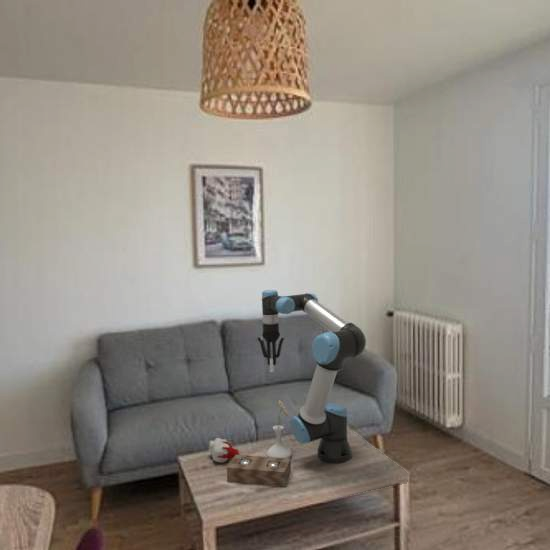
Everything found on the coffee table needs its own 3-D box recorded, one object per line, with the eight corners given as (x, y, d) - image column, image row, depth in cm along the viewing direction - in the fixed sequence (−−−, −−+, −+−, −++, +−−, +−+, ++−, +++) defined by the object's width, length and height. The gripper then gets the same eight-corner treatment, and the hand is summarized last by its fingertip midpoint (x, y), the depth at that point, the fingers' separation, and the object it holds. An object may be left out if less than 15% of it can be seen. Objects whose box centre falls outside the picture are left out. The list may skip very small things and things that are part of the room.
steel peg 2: (279, 474, 207) (279, 461, 207) (277, 479, 203) (276, 466, 203) (270, 473, 208) (269, 461, 208) (267, 478, 204) (267, 465, 204)
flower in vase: (287, 464, 218) (286, 408, 215) (263, 461, 221) (261, 406, 219) (296, 451, 230) (294, 398, 228) (272, 448, 233) (270, 396, 231)
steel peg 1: (251, 472, 210) (251, 459, 209) (248, 476, 206) (248, 464, 206) (242, 471, 211) (242, 458, 210) (239, 476, 207) (239, 463, 206)
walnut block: (291, 472, 210) (290, 458, 210) (284, 486, 198) (284, 472, 198) (236, 467, 216) (235, 454, 215) (227, 481, 204) (226, 467, 204)
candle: (208, 453, 230) (241, 457, 228) (202, 464, 219) (236, 469, 217) (210, 434, 229) (242, 438, 228) (204, 444, 218) (238, 449, 216)
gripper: (285, 321, 239) (287, 369, 241) (259, 321, 242) (260, 369, 244) (282, 324, 232) (284, 374, 234) (255, 324, 235) (257, 373, 237)
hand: (272, 371), depth 239 cm, fingers closed
